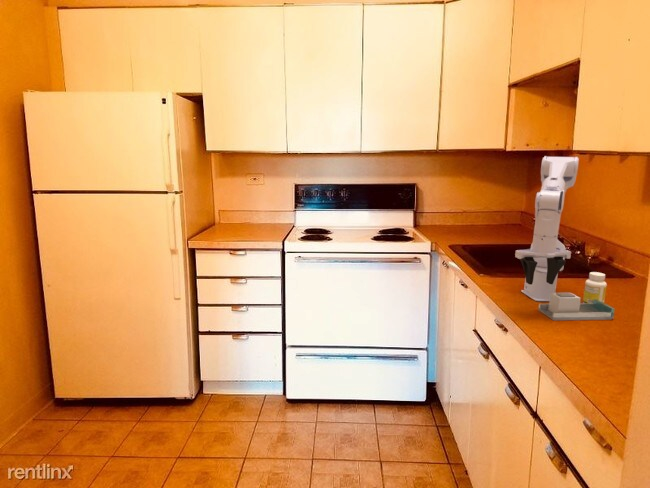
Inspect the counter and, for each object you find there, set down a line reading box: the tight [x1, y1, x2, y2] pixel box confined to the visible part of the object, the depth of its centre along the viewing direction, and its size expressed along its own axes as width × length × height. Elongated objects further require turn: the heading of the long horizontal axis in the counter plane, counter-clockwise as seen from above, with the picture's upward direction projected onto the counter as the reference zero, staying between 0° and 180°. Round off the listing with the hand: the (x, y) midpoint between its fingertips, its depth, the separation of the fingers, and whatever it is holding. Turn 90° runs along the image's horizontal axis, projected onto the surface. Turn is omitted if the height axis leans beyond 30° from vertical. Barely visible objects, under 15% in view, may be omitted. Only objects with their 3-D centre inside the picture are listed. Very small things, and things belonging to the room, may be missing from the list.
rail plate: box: [538, 299, 615, 321], centre depth 122 cm, size 17×8×3 cm, turn 93°
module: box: [548, 292, 582, 313], centre depth 121 cm, size 4×6×5 cm
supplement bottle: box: [582, 271, 608, 303], centre depth 129 cm, size 5×5×10 cm
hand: (539, 283), depth 119 cm, fingers open, 5 cm apart
